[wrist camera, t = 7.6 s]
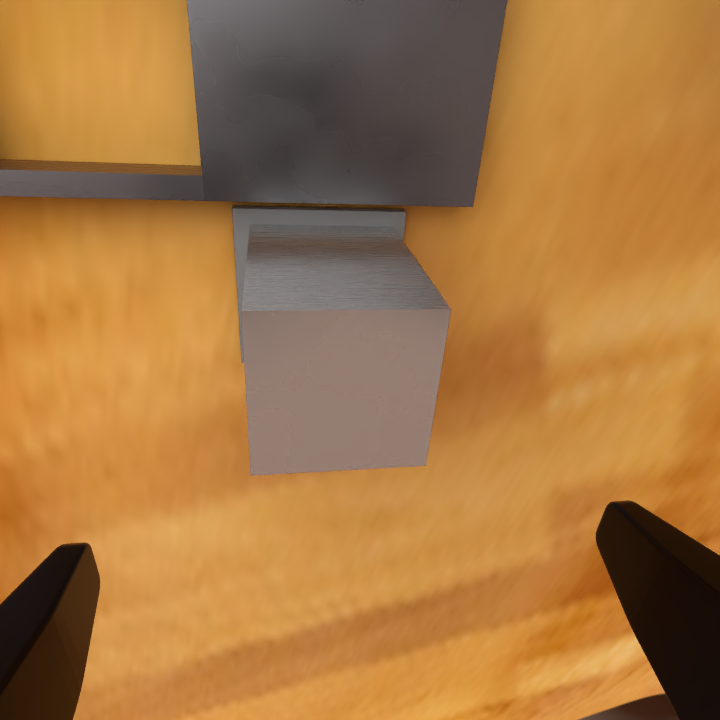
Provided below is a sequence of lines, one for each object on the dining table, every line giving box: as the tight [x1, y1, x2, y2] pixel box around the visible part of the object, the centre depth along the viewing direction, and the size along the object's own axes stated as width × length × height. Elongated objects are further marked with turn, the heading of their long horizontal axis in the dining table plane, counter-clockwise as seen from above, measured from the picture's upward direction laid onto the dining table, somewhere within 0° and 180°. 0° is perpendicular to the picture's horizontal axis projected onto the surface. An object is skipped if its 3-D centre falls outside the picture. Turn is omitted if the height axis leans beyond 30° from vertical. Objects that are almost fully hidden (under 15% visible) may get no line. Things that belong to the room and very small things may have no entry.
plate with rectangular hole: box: [0, 0, 507, 207], centre depth 15 cm, size 18×8×2 cm, turn 87°
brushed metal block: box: [241, 224, 451, 476], centre depth 17 cm, size 5×5×7 cm
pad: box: [232, 205, 406, 363], centre depth 20 cm, size 6×6×1 cm
